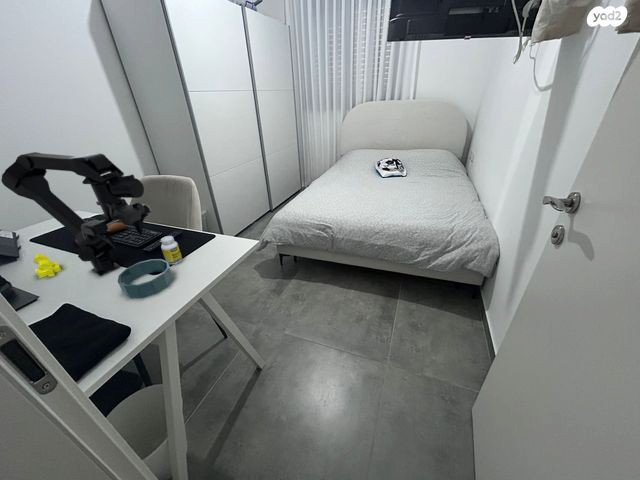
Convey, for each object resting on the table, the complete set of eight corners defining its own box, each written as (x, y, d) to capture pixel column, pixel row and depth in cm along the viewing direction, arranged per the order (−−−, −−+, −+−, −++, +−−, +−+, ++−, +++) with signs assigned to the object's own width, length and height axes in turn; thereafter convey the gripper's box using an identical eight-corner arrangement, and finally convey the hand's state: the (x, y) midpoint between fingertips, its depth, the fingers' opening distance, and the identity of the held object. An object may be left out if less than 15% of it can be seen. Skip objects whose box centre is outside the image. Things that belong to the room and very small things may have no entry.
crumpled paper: (40, 280, 88) (27, 261, 85) (36, 272, 93) (24, 254, 89) (63, 272, 92) (51, 254, 89) (58, 264, 97) (46, 246, 93)
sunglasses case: (119, 224, 125) (117, 215, 120) (127, 234, 124) (126, 225, 119) (73, 240, 112) (69, 230, 107) (82, 251, 111) (79, 242, 106)
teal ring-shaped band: (115, 289, 84) (109, 276, 81) (157, 266, 94) (153, 255, 92) (139, 304, 78) (133, 291, 75) (182, 278, 88) (177, 266, 86)
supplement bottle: (176, 265, 95) (168, 242, 90) (163, 264, 96) (154, 241, 91) (185, 257, 99) (178, 235, 94) (173, 256, 100) (165, 234, 95)
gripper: (94, 211, 69) (118, 260, 77) (154, 190, 84) (169, 232, 92) (68, 207, 73) (93, 253, 80) (130, 187, 88) (146, 227, 95)
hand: (128, 241), depth 87 cm, fingers open, 9 cm apart
